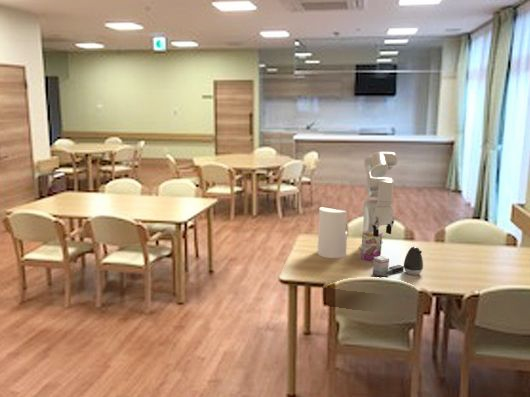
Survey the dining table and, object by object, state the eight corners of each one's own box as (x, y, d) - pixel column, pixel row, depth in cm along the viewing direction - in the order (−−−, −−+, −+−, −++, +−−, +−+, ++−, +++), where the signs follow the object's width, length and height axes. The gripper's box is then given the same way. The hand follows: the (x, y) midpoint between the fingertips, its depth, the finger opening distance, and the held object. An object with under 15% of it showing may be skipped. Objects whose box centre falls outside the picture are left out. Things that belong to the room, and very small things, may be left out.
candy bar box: (360, 259, 297) (362, 232, 293) (361, 256, 301) (363, 230, 298) (379, 261, 293) (381, 234, 290) (380, 259, 298) (382, 232, 294)
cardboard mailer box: (380, 267, 274) (381, 255, 273) (388, 270, 270) (389, 258, 268) (372, 269, 271) (373, 257, 270) (380, 272, 267) (381, 260, 265)
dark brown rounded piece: (411, 277, 268) (413, 250, 265) (399, 271, 278) (401, 245, 275) (426, 275, 272) (429, 248, 269) (413, 269, 282) (416, 243, 279)
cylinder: (337, 260, 294) (339, 214, 289) (312, 254, 305) (313, 209, 299) (351, 253, 308) (353, 208, 302) (326, 247, 318) (328, 204, 312)
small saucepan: (395, 267, 283) (396, 256, 282) (406, 272, 277) (407, 260, 275) (369, 274, 272) (370, 262, 271) (380, 279, 266) (381, 266, 264)
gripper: (390, 200, 271) (388, 230, 275) (367, 204, 262) (365, 235, 266) (401, 203, 265) (398, 234, 269) (377, 207, 256) (375, 239, 260)
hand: (382, 234), depth 268 cm, fingers open, 9 cm apart
